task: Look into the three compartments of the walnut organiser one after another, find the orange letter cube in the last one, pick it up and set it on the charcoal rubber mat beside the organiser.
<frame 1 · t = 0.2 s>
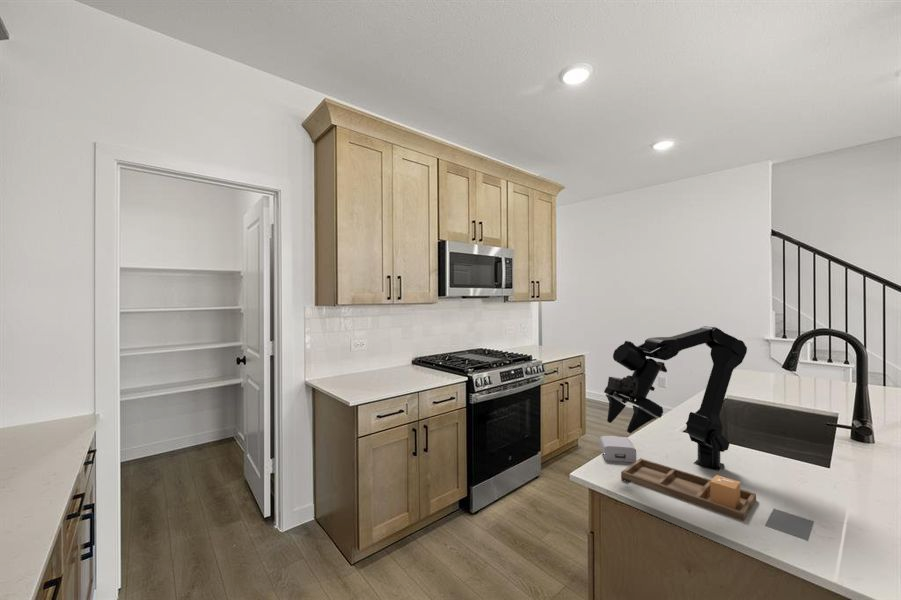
hand: (618, 427, 108), 15 cm above the worktop, tool tilted 30°, fingers open, 9 cm apart
organiser: (684, 490, 101), on the worktop
letter cube: (725, 501, 95), point 1 cm above the worktop, touching organiser
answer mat: (789, 526, 86), on the worktop
charger: (615, 452, 127), on the worktop
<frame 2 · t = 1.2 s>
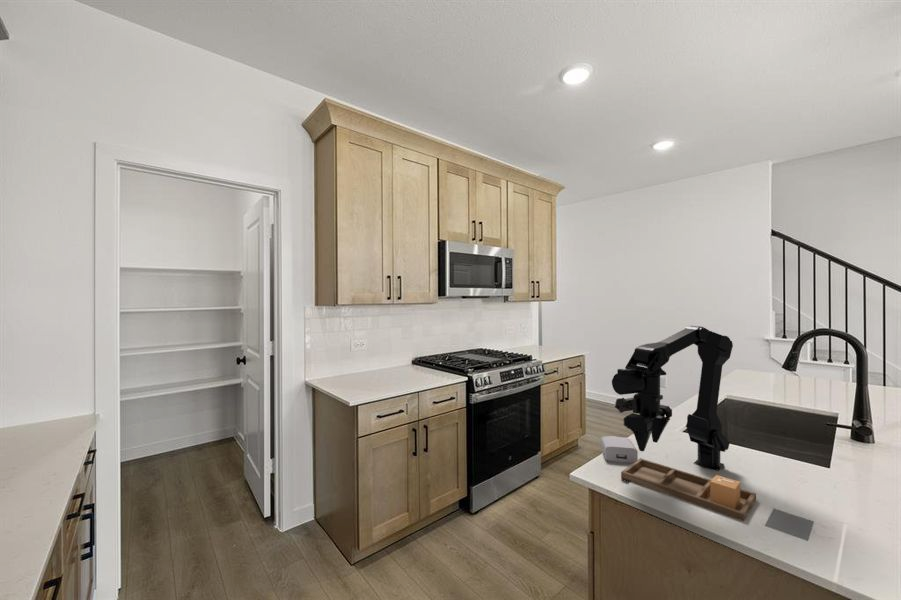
hand: (648, 446, 108), 9 cm above the worktop, tool pointing down, fingers open, 9 cm apart
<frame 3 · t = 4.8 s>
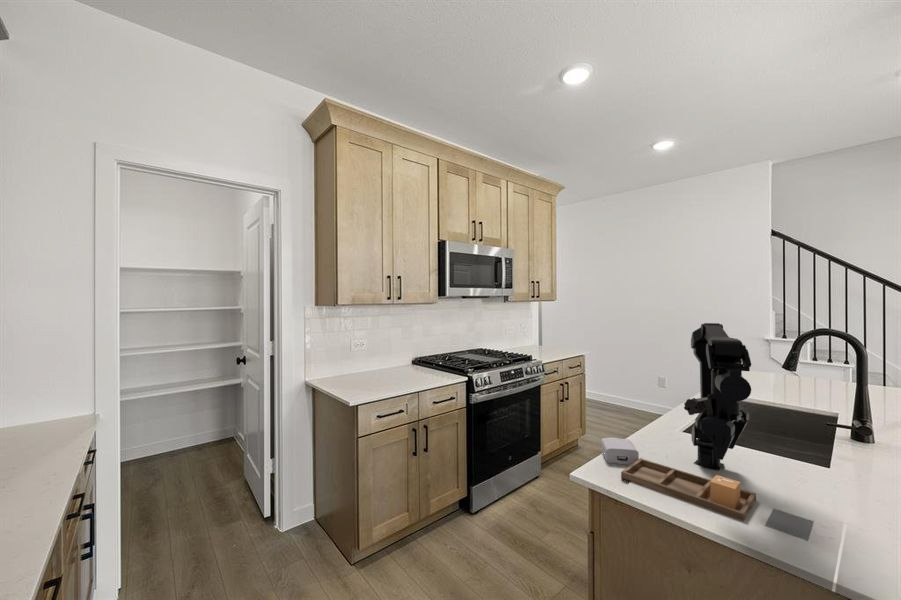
hand: (725, 453, 94), 13 cm above the worktop, tool pointing down, fingers open, 9 cm apart
charger: (616, 454, 125), on the worktop
everything else where it was.
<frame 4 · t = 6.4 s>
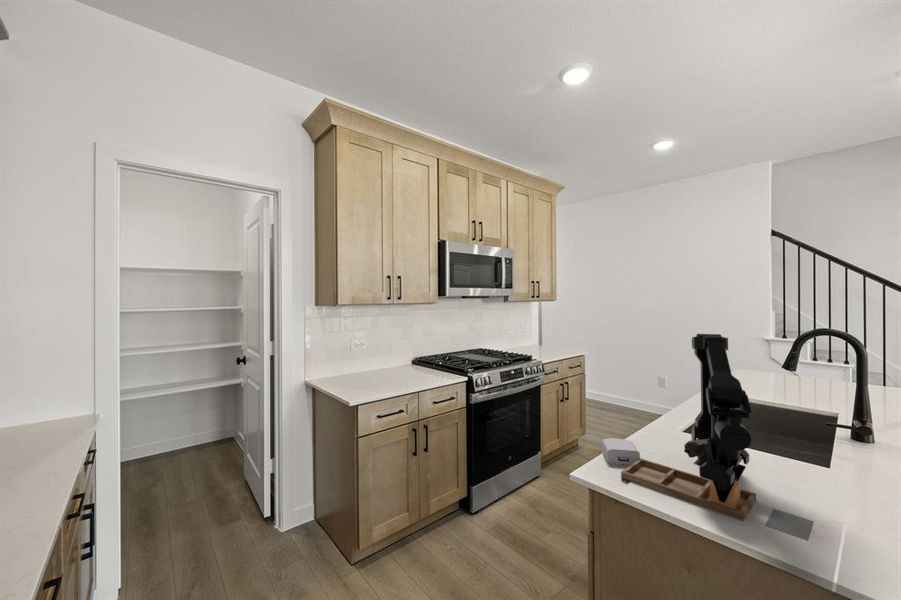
hand: (725, 497, 95), 2 cm above the worktop, tool pointing down, fingers closed on letter cube, 5 cm apart
letter cube: (725, 501, 95), point 1 cm above the worktop, touching gripper, organiser
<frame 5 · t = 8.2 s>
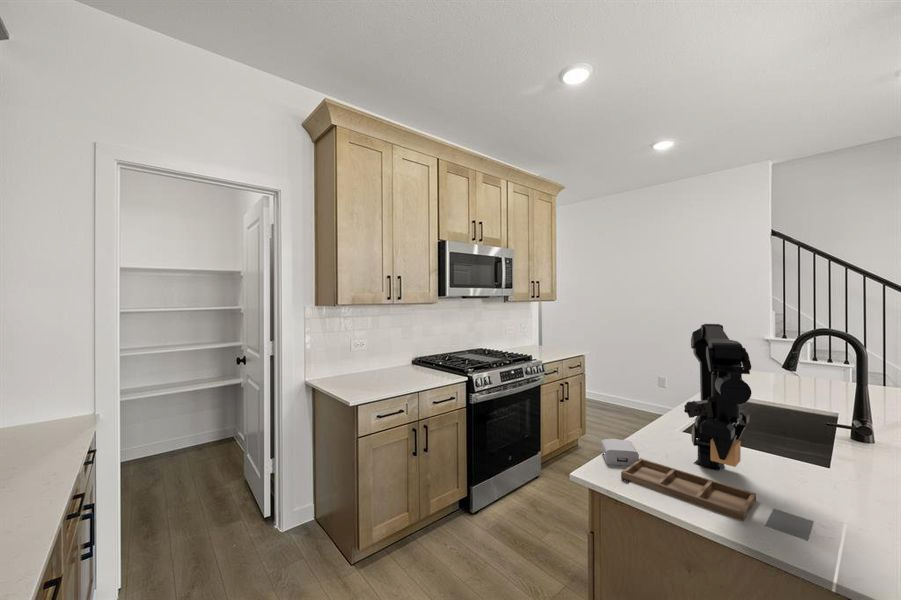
hand: (725, 456, 94), 12 cm above the worktop, tool pointing down, fingers closed on letter cube, 5 cm apart
letter cube: (725, 460, 94), point 11 cm above the worktop, touching gripper
when the fingers open (3 cm above the worktop, at t = 11.1 s): letter cube drops 2 cm, resting on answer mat.
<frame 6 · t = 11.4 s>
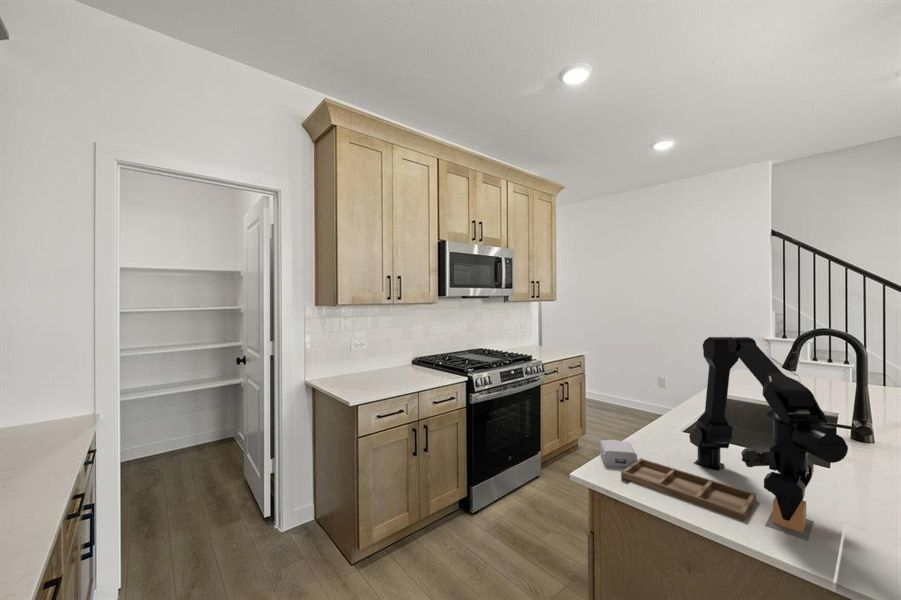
hand: (789, 511, 86), 3 cm above the worktop, tool pointing down, fingers open, 9 cm apart
letter cube: (789, 523, 86), point 1 cm above the worktop, touching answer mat
charger: (616, 457, 123), on the worktop
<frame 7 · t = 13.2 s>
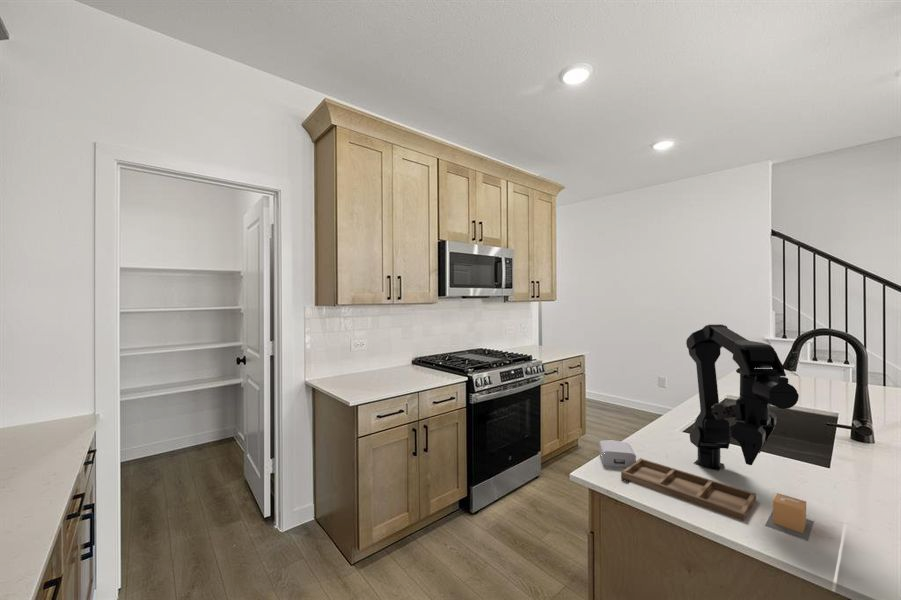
hand: (753, 458, 94), 12 cm above the worktop, tool pointing down, fingers open, 9 cm apart
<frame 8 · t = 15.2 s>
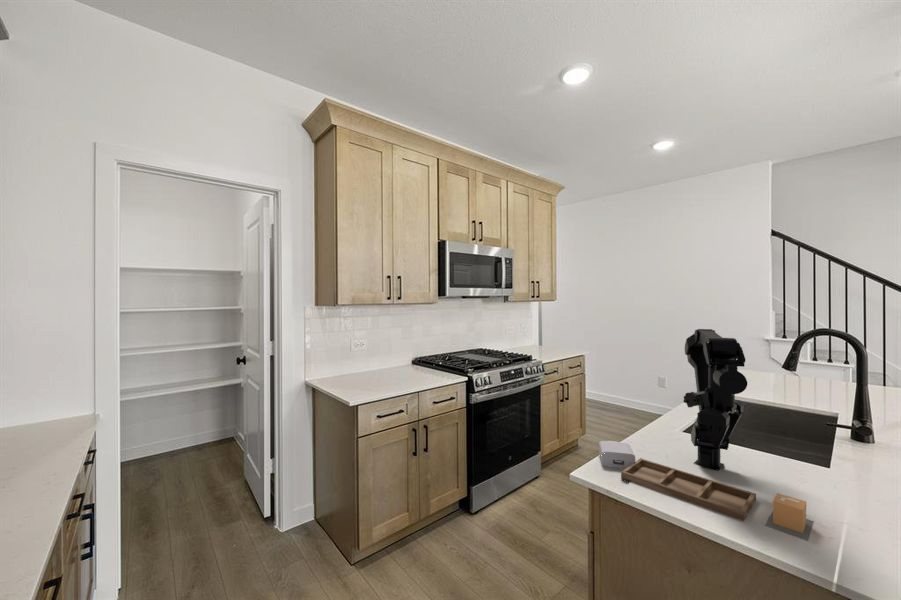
hand: (721, 442, 103), 12 cm above the worktop, tool pointing down, fingers open, 9 cm apart
at the end: letter cube 0.0 cm off-centre on the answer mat, point 0.6 cm above the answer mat's base; letter cube tilted 0°; the gripper is holding nothing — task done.
